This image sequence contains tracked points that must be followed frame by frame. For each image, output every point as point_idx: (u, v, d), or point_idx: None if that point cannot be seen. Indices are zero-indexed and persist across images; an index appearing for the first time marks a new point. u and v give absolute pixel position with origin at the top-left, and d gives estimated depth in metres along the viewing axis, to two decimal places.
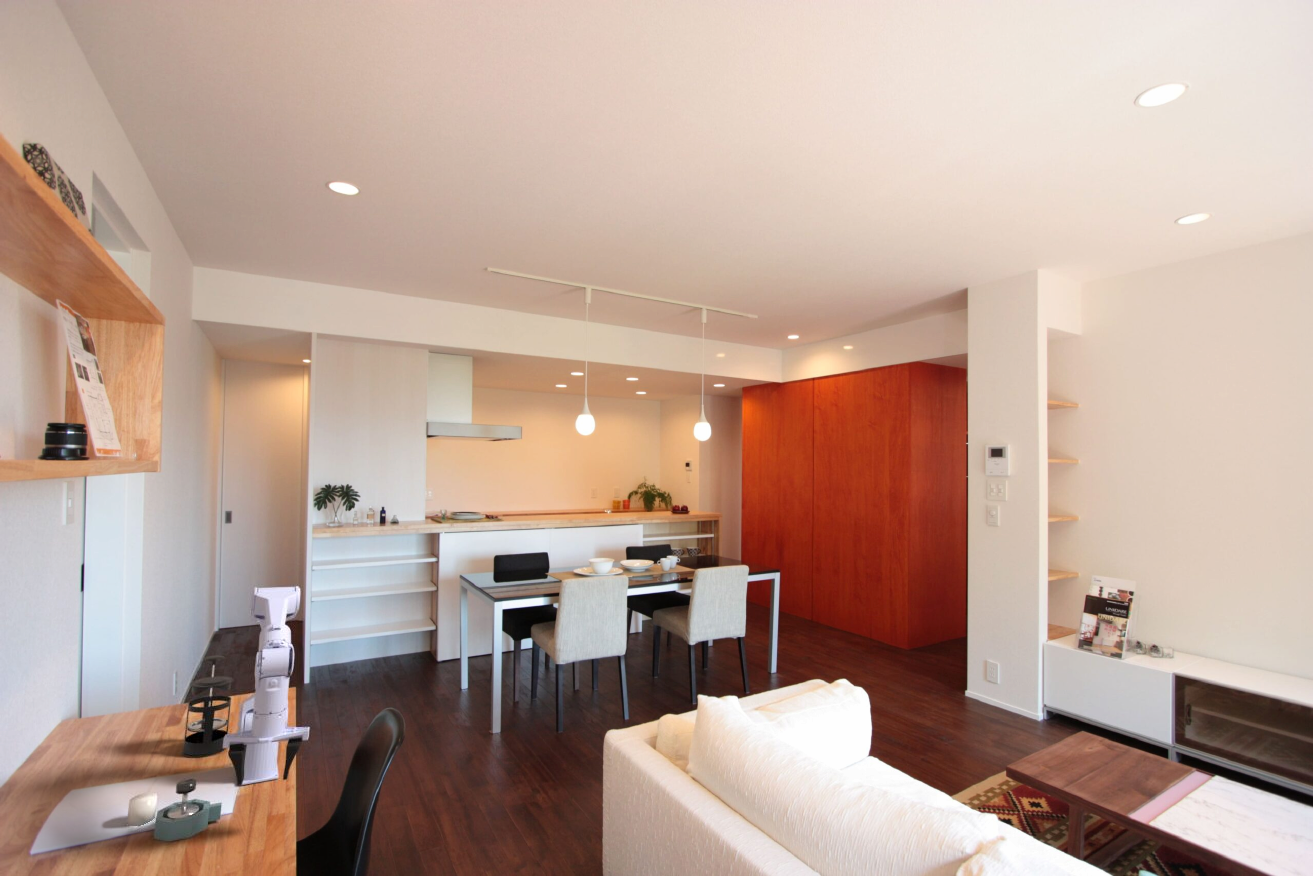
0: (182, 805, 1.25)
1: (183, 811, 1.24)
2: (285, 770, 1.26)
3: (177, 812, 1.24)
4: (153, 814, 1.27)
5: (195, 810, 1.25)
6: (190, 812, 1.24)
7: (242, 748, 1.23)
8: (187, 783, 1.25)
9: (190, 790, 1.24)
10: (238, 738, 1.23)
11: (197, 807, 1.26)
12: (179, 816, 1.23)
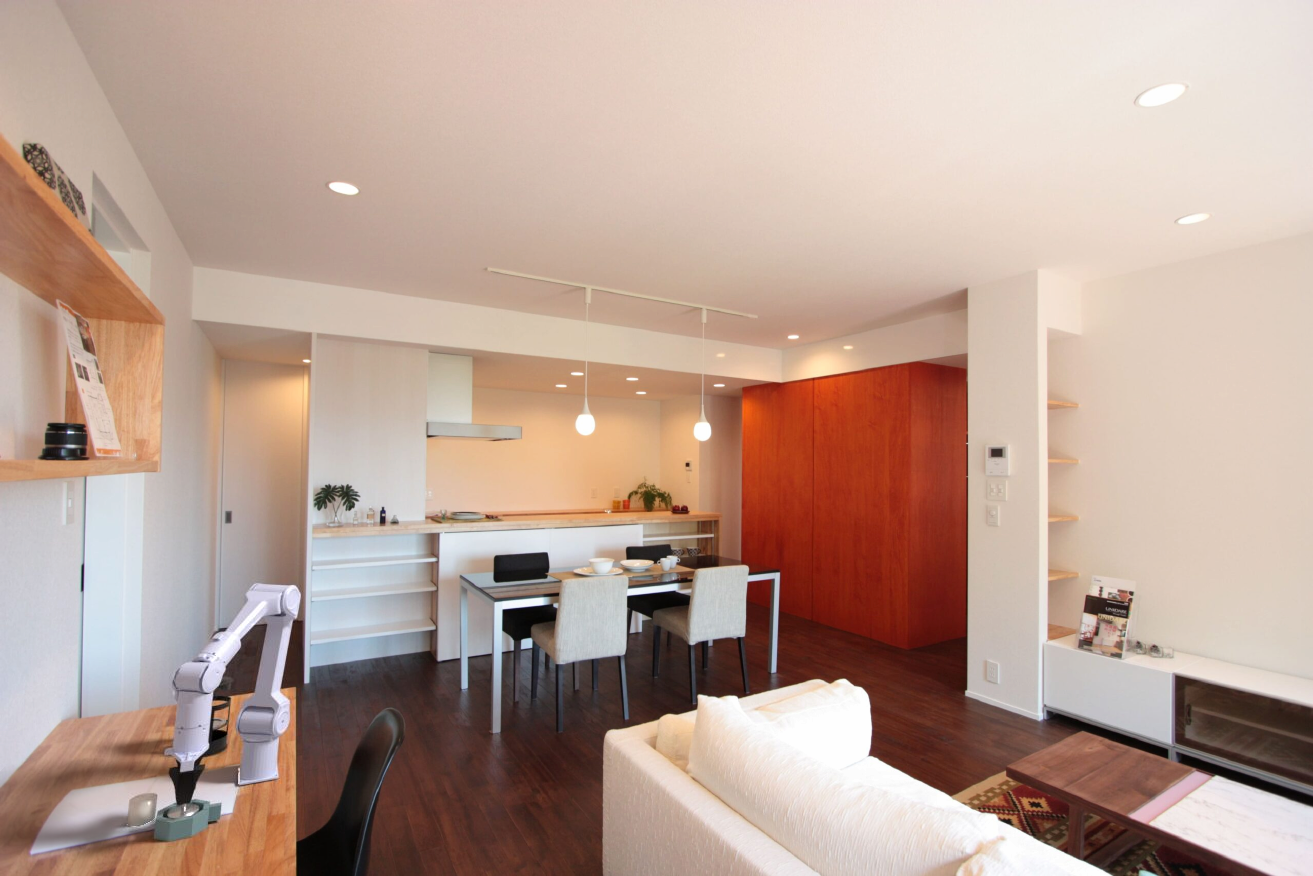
0: (182, 805, 1.25)
1: (183, 811, 1.24)
2: None
3: (177, 812, 1.24)
4: (153, 814, 1.27)
5: (195, 810, 1.25)
6: (190, 812, 1.24)
7: None
8: None
9: None
10: None
11: (197, 807, 1.26)
12: (179, 816, 1.23)
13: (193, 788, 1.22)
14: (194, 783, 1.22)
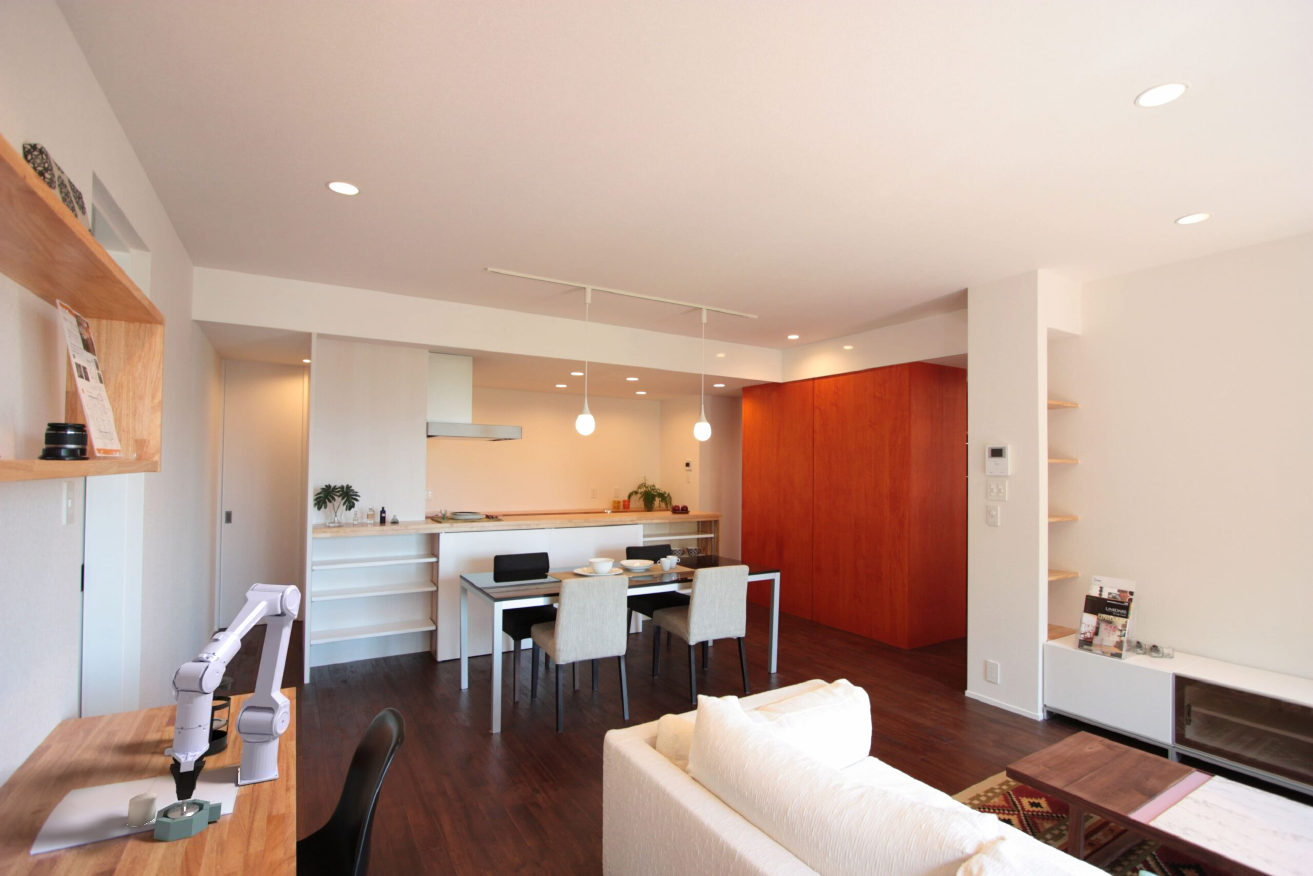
0: (182, 805, 1.25)
1: (183, 811, 1.24)
2: None
3: (177, 812, 1.24)
4: (153, 814, 1.27)
5: (195, 810, 1.25)
6: (190, 812, 1.24)
7: None
8: None
9: None
10: None
11: (197, 807, 1.26)
12: (179, 816, 1.23)
13: (194, 784, 1.24)
14: (195, 779, 1.24)
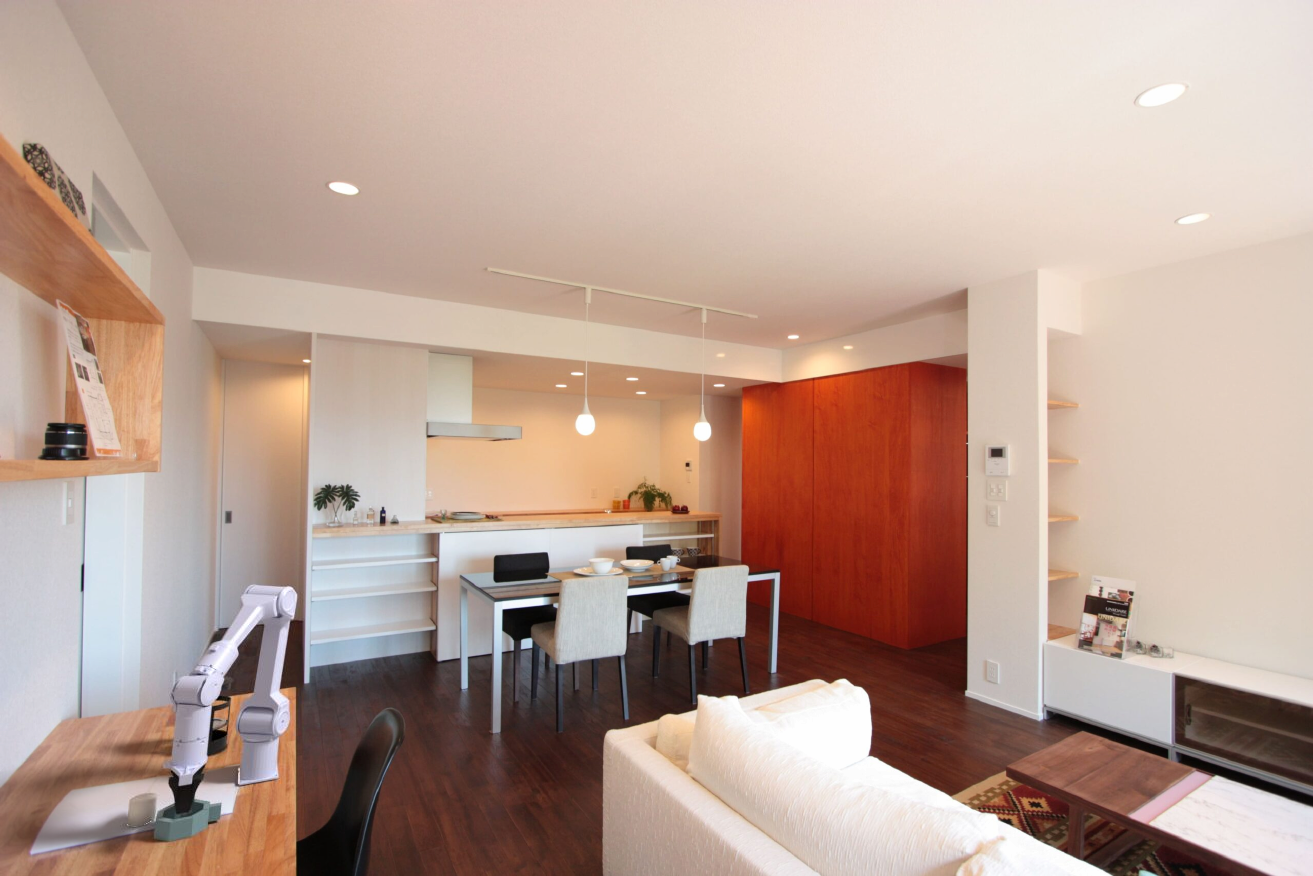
0: None
1: None
2: (175, 803, 1.23)
3: None
4: (153, 814, 1.27)
5: None
6: None
7: None
8: None
9: None
10: None
11: None
12: None
13: (192, 797, 1.24)
14: (193, 792, 1.23)
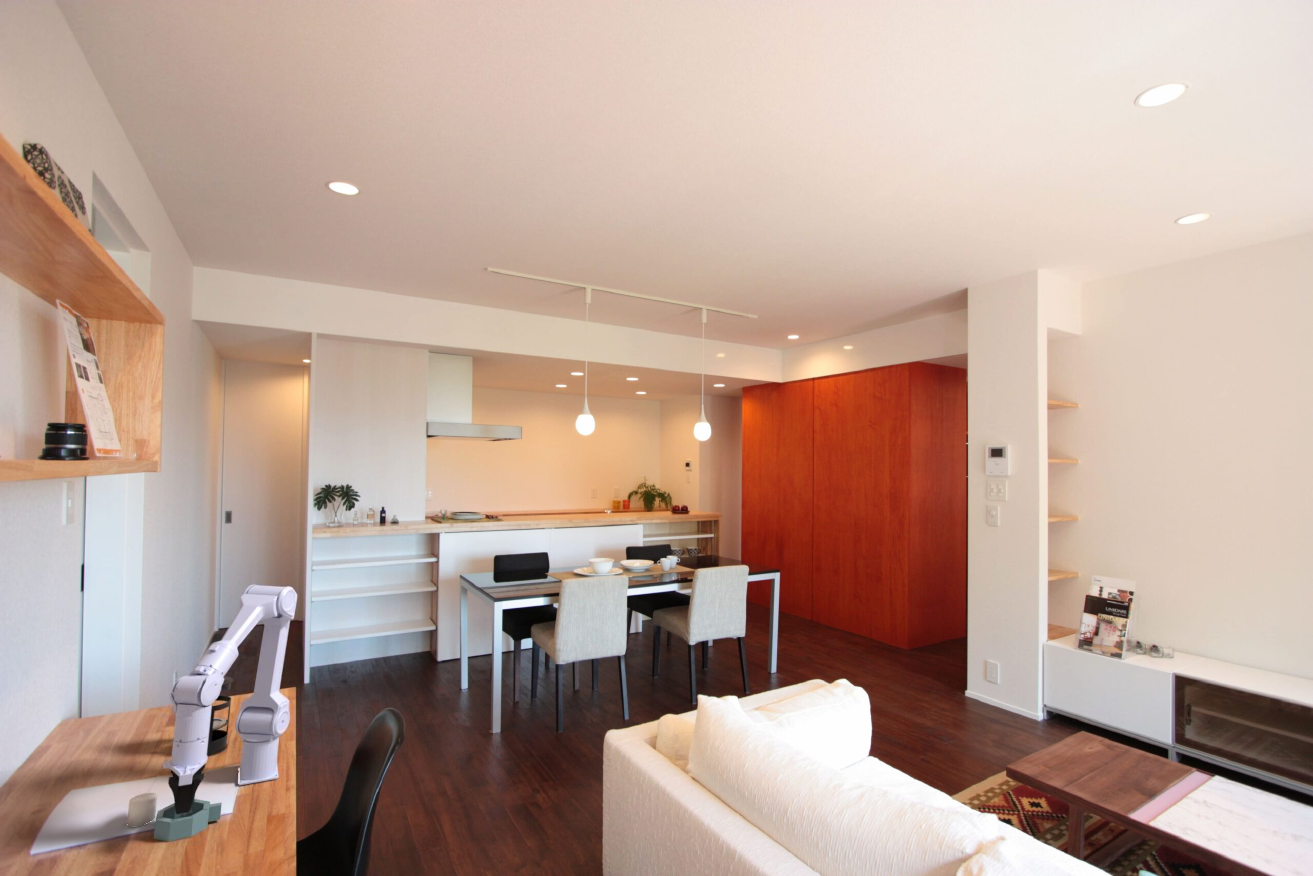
0: None
1: None
2: (175, 803, 1.23)
3: None
4: (153, 814, 1.27)
5: None
6: None
7: None
8: None
9: None
10: None
11: None
12: None
13: (192, 797, 1.24)
14: (193, 792, 1.23)
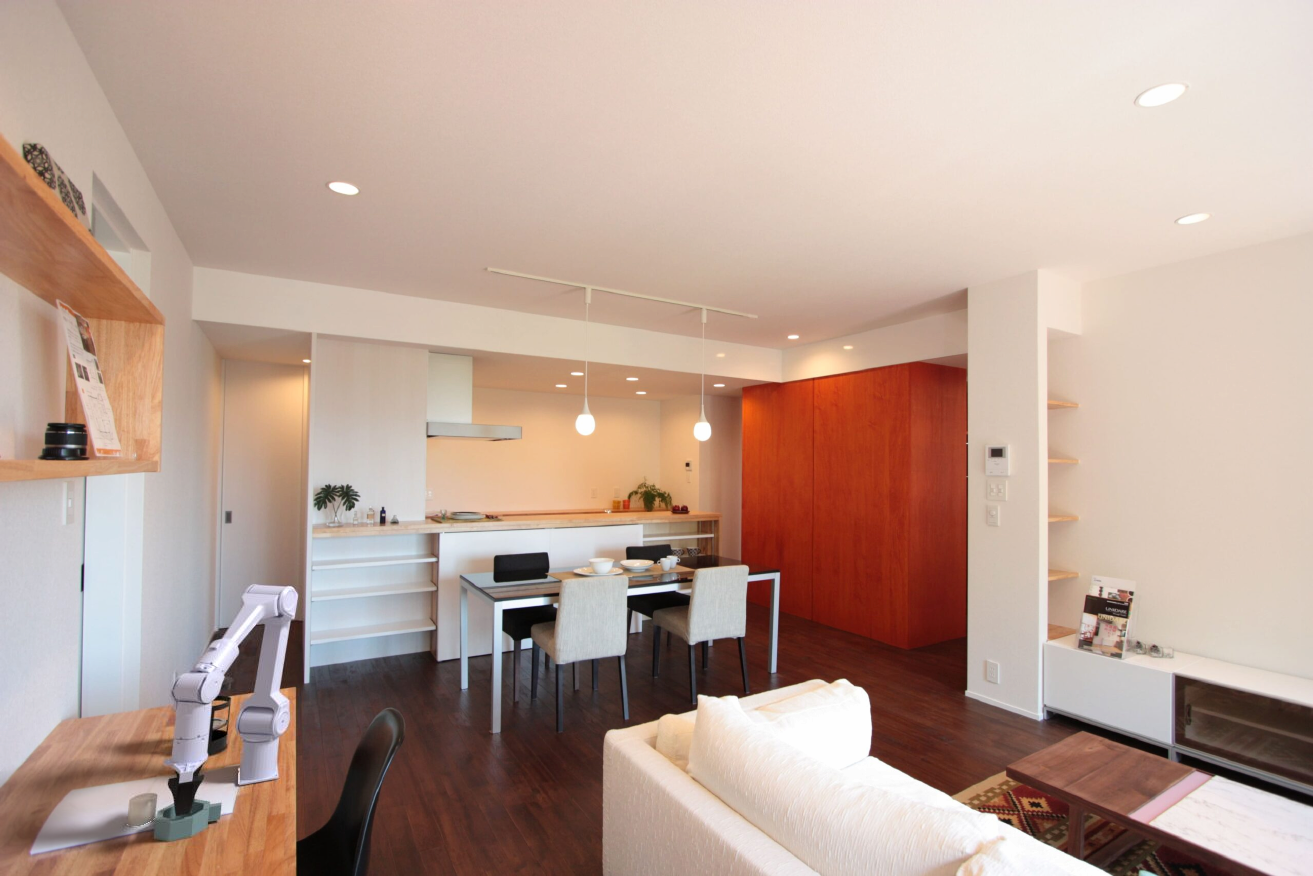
0: None
1: None
2: None
3: None
4: (153, 814, 1.27)
5: None
6: None
7: None
8: None
9: None
10: None
11: None
12: None
13: (192, 799, 1.22)
14: (193, 794, 1.22)
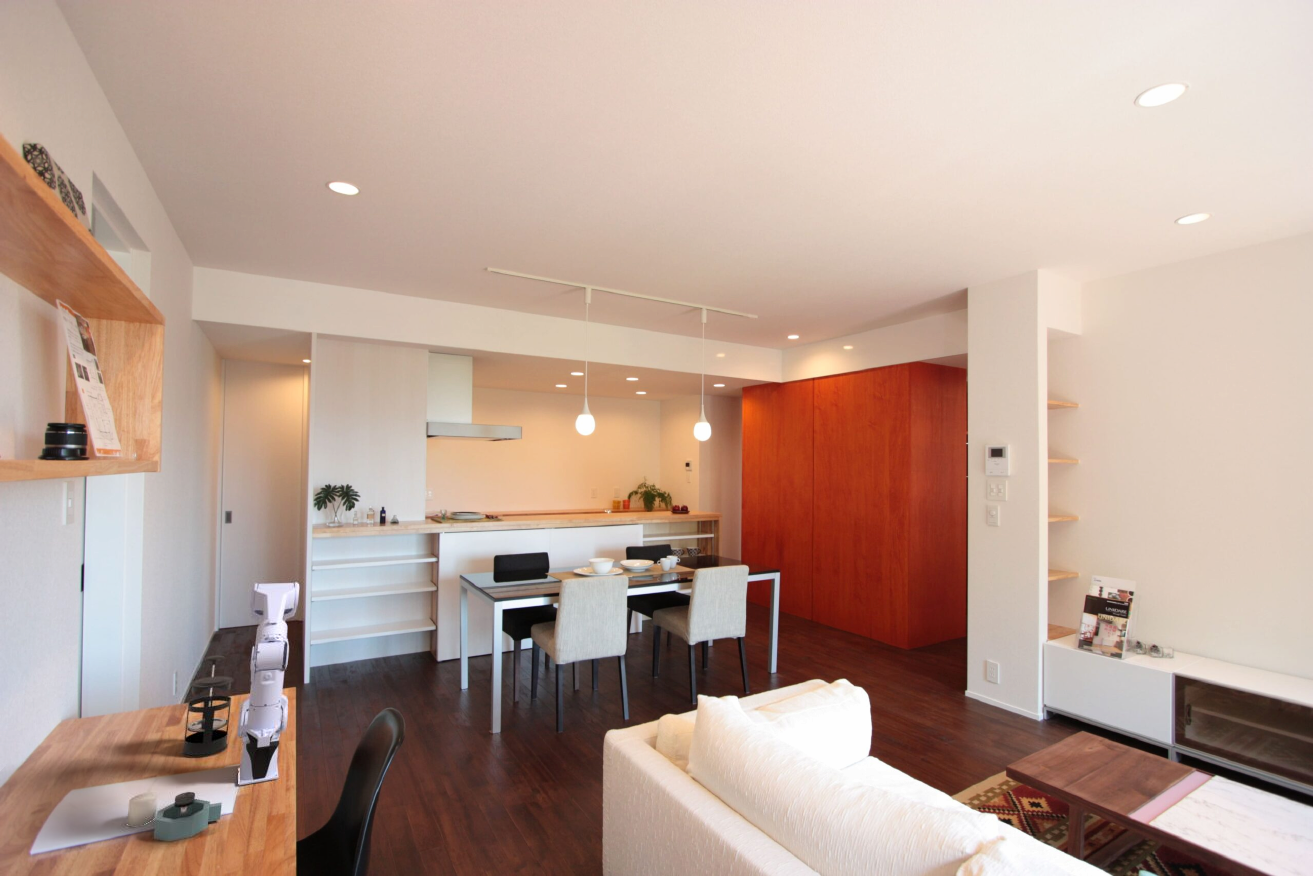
0: None
1: None
2: (251, 769, 1.25)
3: None
4: (153, 814, 1.27)
5: None
6: None
7: None
8: (185, 796, 1.25)
9: (189, 803, 1.24)
10: None
11: None
12: None
13: (268, 763, 1.26)
14: (269, 758, 1.26)
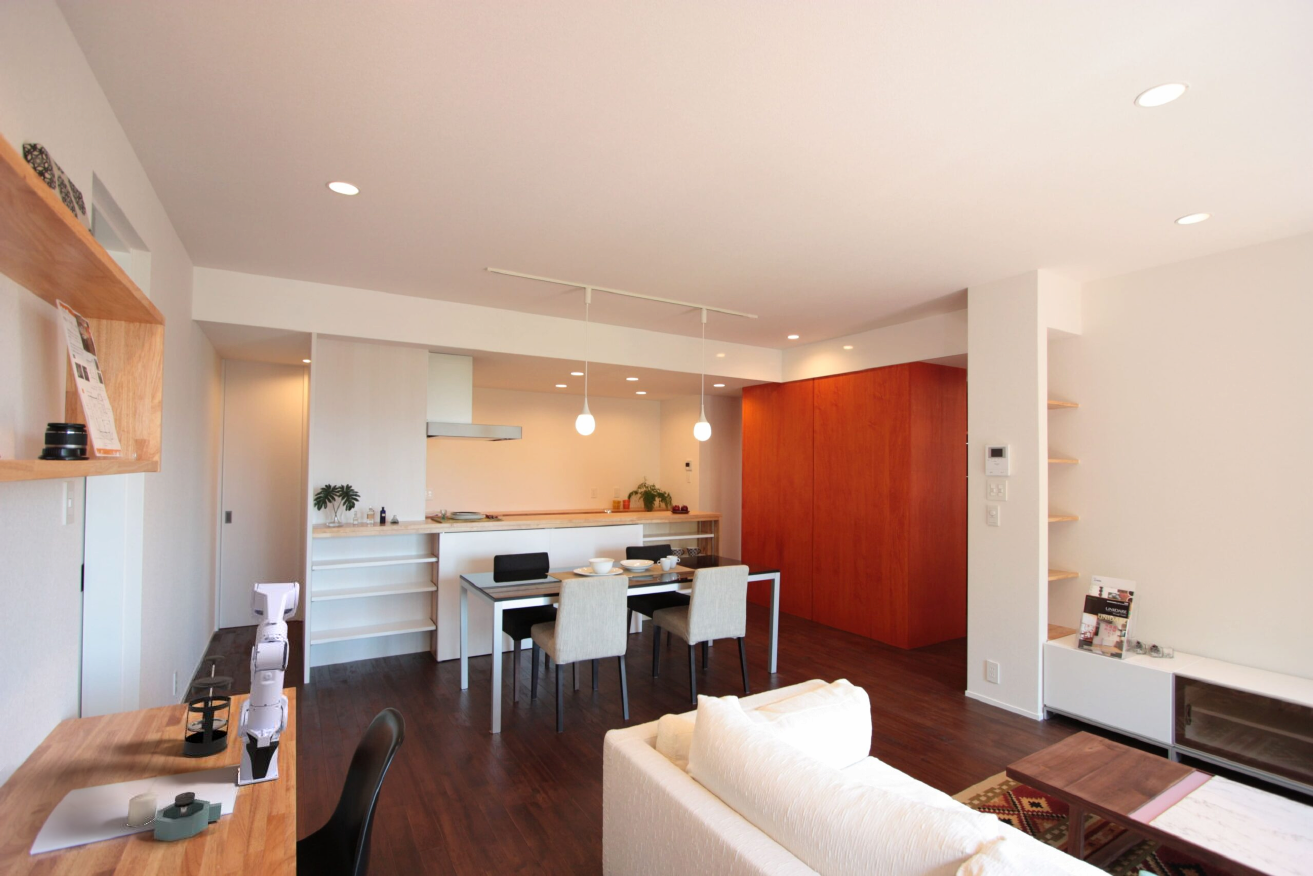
0: None
1: None
2: (251, 769, 1.25)
3: None
4: (153, 814, 1.27)
5: None
6: None
7: None
8: (185, 796, 1.25)
9: (189, 803, 1.24)
10: None
11: None
12: None
13: (268, 763, 1.26)
14: (269, 758, 1.26)
